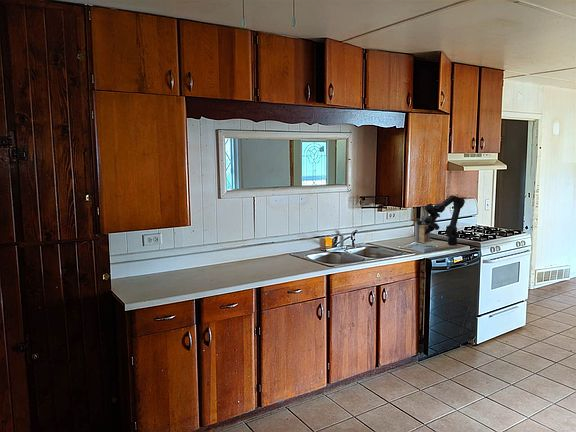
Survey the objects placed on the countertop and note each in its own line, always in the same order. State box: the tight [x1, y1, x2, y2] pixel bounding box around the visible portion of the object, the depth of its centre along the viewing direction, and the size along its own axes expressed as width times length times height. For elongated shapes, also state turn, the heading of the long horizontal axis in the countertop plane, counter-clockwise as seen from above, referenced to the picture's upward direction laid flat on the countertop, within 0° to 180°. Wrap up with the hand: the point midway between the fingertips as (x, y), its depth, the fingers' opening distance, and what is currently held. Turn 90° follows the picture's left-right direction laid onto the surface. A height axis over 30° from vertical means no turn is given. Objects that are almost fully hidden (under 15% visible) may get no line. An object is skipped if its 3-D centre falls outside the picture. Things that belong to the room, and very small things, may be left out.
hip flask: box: [414, 217, 431, 244], centre depth 399 cm, size 16×4×20 cm, turn 116°
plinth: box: [412, 243, 436, 253], centre depth 367 cm, size 12×12×3 cm
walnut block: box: [419, 225, 429, 244], centre depth 365 cm, size 5×5×13 cm
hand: (422, 233), depth 364 cm, fingers closed on walnut block, 5 cm apart
